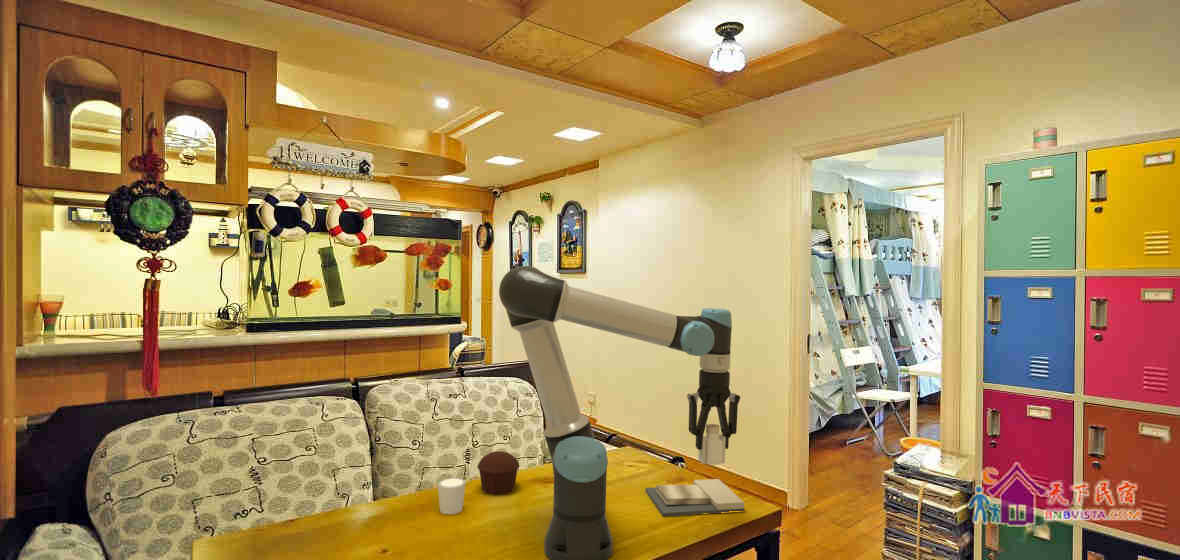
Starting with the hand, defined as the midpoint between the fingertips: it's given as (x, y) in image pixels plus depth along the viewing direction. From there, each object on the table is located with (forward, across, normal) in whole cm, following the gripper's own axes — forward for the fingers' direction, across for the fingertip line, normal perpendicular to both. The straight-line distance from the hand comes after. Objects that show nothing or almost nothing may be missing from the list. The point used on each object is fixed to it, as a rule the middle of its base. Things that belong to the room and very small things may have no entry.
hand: (711, 461), depth 137 cm
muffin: (+15, -53, +24) cm, 60 cm away
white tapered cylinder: (+15, -65, +12) cm, 68 cm away
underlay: (+15, -1, +10) cm, 18 cm away
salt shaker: (+1, 0, 0) cm, 1 cm away
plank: (+13, -4, +10) cm, 17 cm away
